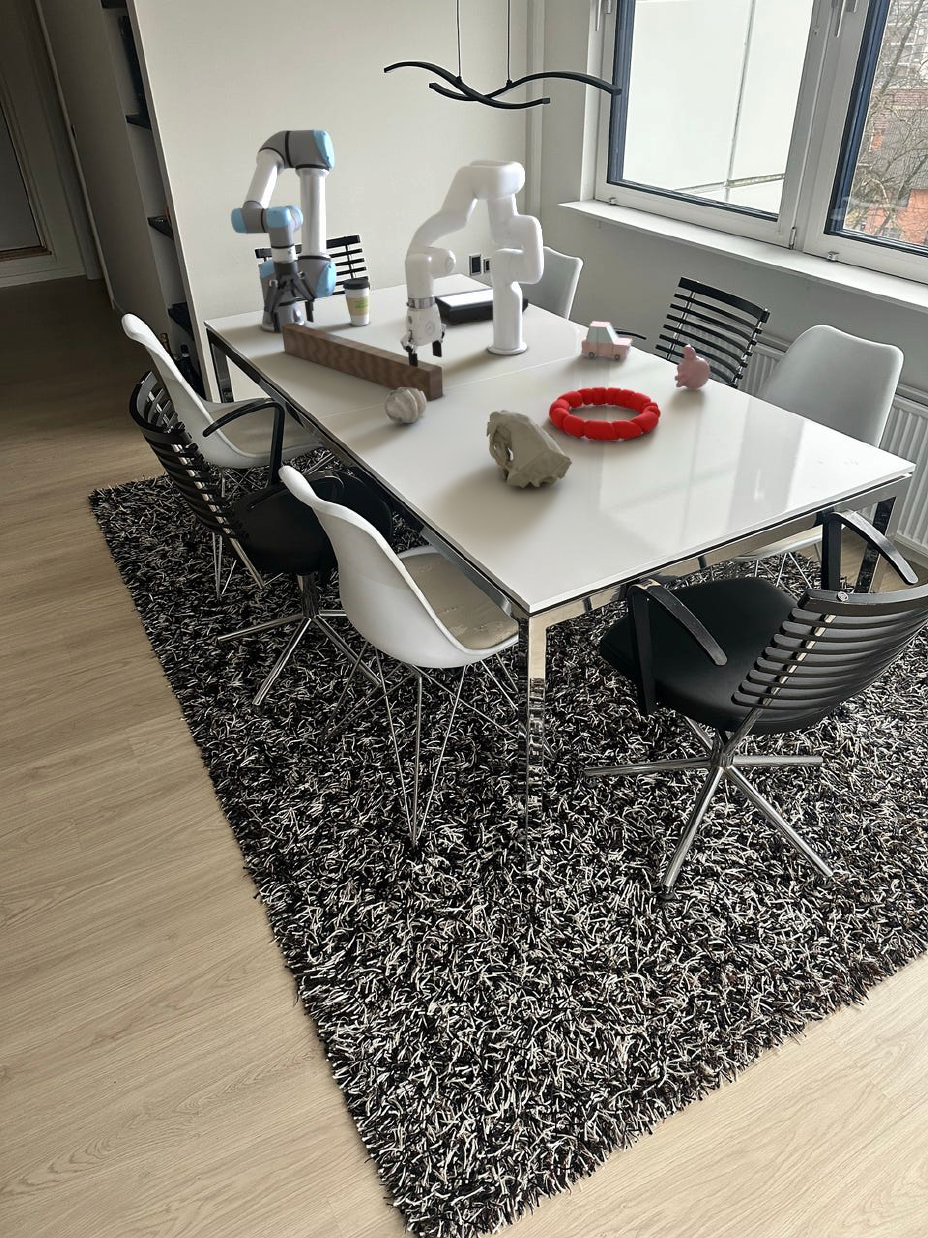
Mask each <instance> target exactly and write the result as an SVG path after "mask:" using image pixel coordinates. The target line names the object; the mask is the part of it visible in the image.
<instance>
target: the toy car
mask: <svg viewBox="0 0 928 1238" xmlns="http://www.w3.org/2000/svg"><path fill="white" fill-rule="evenodd" d="M632 345H633V338H627V337H619V335H618V333H617V332H616V331H615V328H614V327H613V325H612V323H611V322H610V321H609V322H608V321H598V320H597V321H595V320H593V321H592V322H591V323H590V324H589V325H588V330H587V333H586V336H585V337H584V338H583V339H582V341H581V352H580V353H581V355H586V356H588V358H589V359H593V358H595V357H597V356H599V357H609V358H610V357H612V358H613V359H614V360H615V361H619V360H621V359H626V358H627V357H628V356H629V354H630V353H631V346H632Z"/></svg>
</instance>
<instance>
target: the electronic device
mask: <svg viewBox="0 0 928 1238" xmlns="http://www.w3.org/2000/svg"><path fill="white" fill-rule="evenodd" d="M434 298H435V303H436V304H437V306H438V310H439V314H440V319H442V320H444V321H445V322H447V323H449V324H450V325H456V324H463V323H469V322H475V321H477V322H478V321H483V320H489V319H493V288H492V287H488V288H482V289H481V288H480V289H474V290H468V291H460V292H454V293H453V292H452V293H448V294H441V295H434ZM528 307H529V298H527V297H526V296H524V295H522V314H524V312H525V311H526V310H527V308H528Z"/></svg>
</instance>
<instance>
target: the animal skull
mask: <svg viewBox="0 0 928 1238" xmlns="http://www.w3.org/2000/svg"><path fill="white" fill-rule="evenodd" d="M486 425H487V427H486V435H485V436H486V438H487V437H489V438H488V440H489V444H488V445H489V446H488V450H489V454H490V456H491V457H492V458H493V459H494V460H495V462H496V464H497V466H499V468H500V470H501V471H502V472H501V478H502V479H507V480H506V484H507V486H517V487H518V486H519V488H523V489H524V488H526V486H527V485H529V483H531V485H533V486H534V487H536V488H540V485H541V484H542V482H544V483H549V484H550V485H553V484H555V483H556V482H557V480H561V479H563V478H565V476H566V474H567V472H568V471H569V469H570V467H571V466H572V464H573V462H572V461H571V458H570V457H568V456H567V455H565V453H564V451H562V449H561V448H560V446H559V444H557V443H556V439H555V438H554V436H553V435H551V434H550V433H548V432H547V431H546V430H545V429H544V428H542V427H541V426H539V425H538V424H537V423H536V424H535V422H534V421H533V419H532V418H531V417H530V416H529V415H527V414H524V413H519V412H515V411H509V410H507V409H502V410H500V411H499V410H495V411H492V412H491V414H489V421H487V423H486ZM511 453H512V454H511ZM511 455H512V457H513V458H512V460H511ZM507 474H508V475H507Z"/></svg>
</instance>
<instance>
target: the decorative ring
mask: <svg viewBox="0 0 928 1238" xmlns="http://www.w3.org/2000/svg"><path fill="white" fill-rule="evenodd" d="M583 405H584V406H586V407H587V406H591V405H593V406H604V405H608V406H614V407H619V408H624V409H628V410H632V411H635V412H636V413H638V414H639V415H637V416H635V417H632V418H631V419H630V420H625V419H624V420H623V419H622V420H614V421H611V422H609V421H607V420H606V421H605V420H593V419H587V420H586V421H585V419H584V418H582V417H579V416H577V415H573V414H571V413H570V410H571V409H579V408H581V407H582V406H583ZM548 416H549V419H550V422H551V423H552V425H553V426H554V427H555V428H556V429H558V430H559V431H561V432H563V433H567V434H568V435H569V436H573V437H576V438H580V439H582V438H583V437H585V438H586V439H587V440H591V441H601V442H602V441H603V442H608V441H609V442H610V441H611V442H612V441H615V442H616V441H618V440H630V439H634V438H638V437H641V436H642V434H647V433H650V432H651V431H653V430H654V429H655V428H656V427H657V426H658V424H659V422H660V421H659V420H660V417H661V410H660V408H659V405H658V403H657V402H656V401H652V399H651V397H649V396H648V395H646V394H644V393H642V392H635V391H634V390H632V389H628V388H624V389H622V388H620V387H613V386H612V387H611V386H610V387H608V388H606V387H604V386H594V387H585V388H584V387H583V388H580V389H578V390H571V391H568V392H565V393H563V394H561V395H560V396H558V397H557V398H556V400H554V401H552V403H551V404H550V407H549V409H548Z"/></svg>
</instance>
